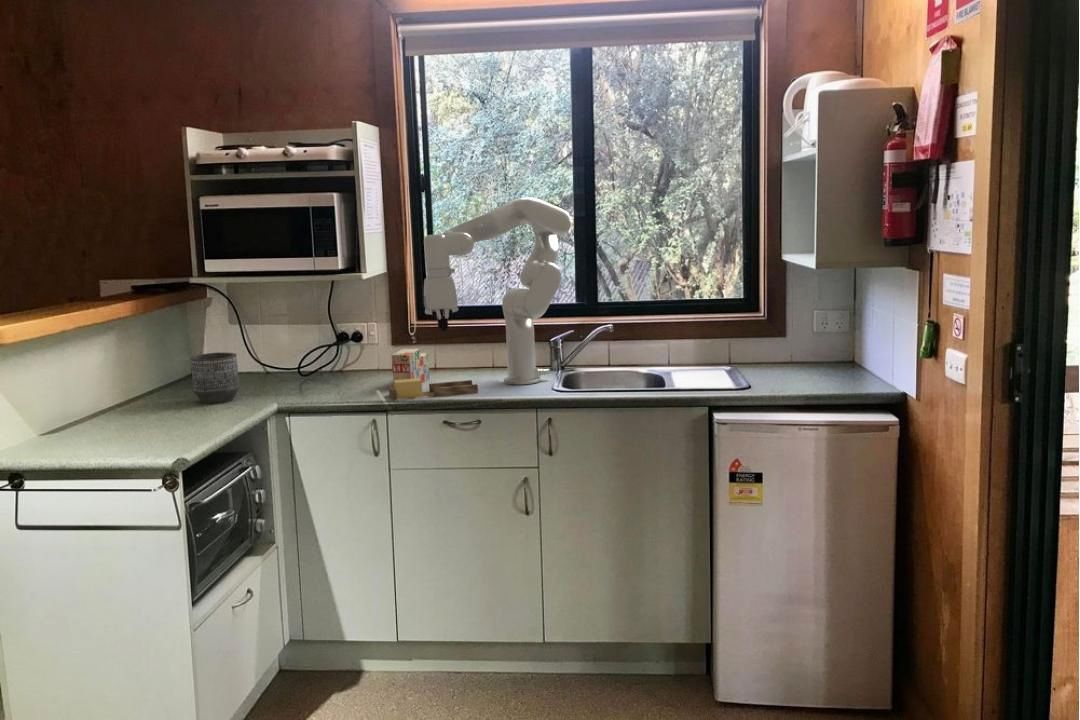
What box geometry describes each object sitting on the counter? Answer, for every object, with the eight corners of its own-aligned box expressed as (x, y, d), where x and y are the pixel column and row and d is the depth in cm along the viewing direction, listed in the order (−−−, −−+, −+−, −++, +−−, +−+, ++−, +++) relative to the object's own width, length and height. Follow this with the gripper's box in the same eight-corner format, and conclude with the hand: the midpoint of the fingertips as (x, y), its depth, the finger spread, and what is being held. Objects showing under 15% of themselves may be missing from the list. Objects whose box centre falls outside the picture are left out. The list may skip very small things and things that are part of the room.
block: (419, 393, 303) (418, 378, 303) (422, 396, 299) (421, 380, 298) (394, 395, 301) (393, 380, 300) (396, 398, 296) (396, 382, 296)
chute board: (471, 389, 311) (471, 379, 310) (478, 395, 302) (477, 384, 301) (389, 397, 303) (388, 387, 303) (393, 402, 294) (392, 392, 294)
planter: (214, 407, 298) (209, 360, 295) (185, 403, 305) (180, 357, 303) (249, 398, 310) (245, 353, 307) (221, 395, 317) (217, 351, 315)
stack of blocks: (412, 378, 336) (410, 344, 334) (429, 378, 334) (428, 344, 332) (393, 390, 315) (391, 354, 313) (411, 390, 314) (409, 354, 312)
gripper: (458, 270, 305) (463, 327, 308) (413, 275, 301) (418, 332, 304) (464, 272, 298) (468, 329, 301) (417, 276, 294) (422, 335, 297)
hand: (443, 330), depth 303 cm, fingers closed
